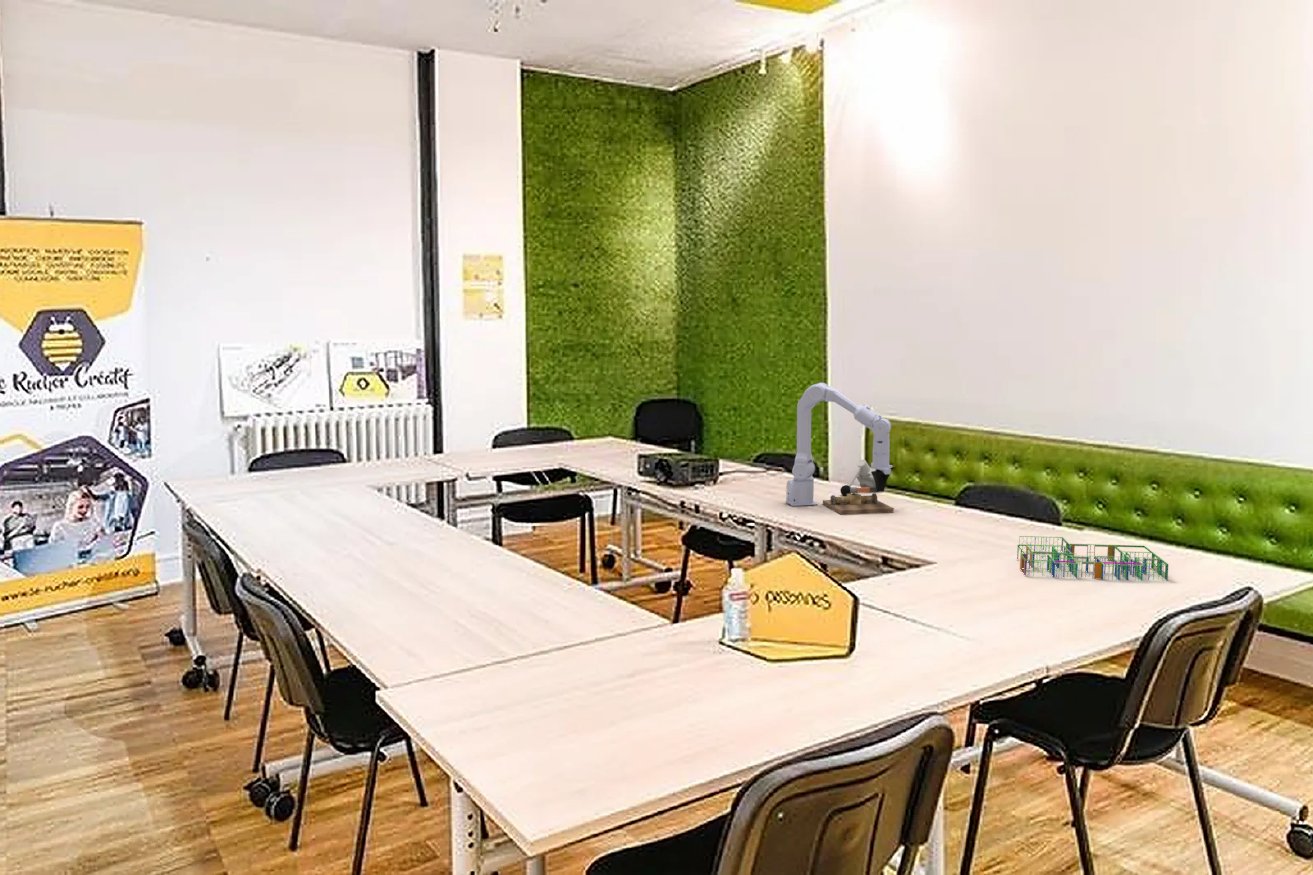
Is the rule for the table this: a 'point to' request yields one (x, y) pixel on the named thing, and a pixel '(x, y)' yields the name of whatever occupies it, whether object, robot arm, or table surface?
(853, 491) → the valve lever
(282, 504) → the table surface
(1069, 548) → the house model
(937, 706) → the table surface
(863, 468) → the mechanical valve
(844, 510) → the valve board
